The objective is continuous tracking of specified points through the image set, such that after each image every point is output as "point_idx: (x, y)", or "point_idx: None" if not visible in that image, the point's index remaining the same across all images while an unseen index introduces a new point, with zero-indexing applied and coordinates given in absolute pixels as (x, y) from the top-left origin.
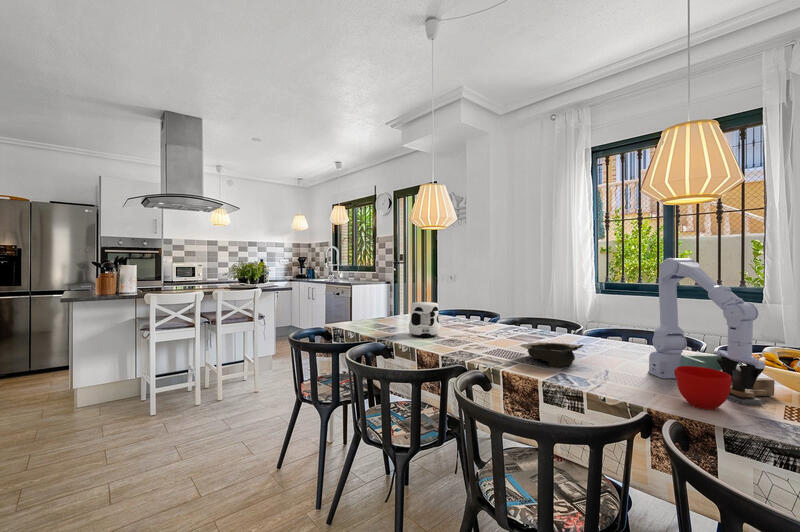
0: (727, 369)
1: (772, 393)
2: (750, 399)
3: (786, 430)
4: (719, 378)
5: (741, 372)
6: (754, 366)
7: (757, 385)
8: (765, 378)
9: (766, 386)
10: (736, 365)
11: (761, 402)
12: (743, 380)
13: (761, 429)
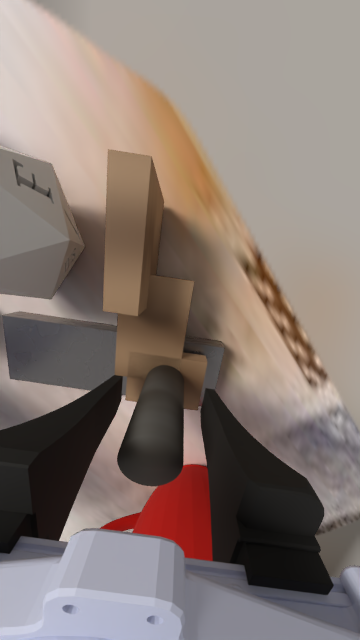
0: (87, 453)
1: (161, 205)
2: (212, 379)
3: (355, 449)
4: (198, 557)
5: (180, 471)
6: (312, 601)
7: (147, 276)
8: (112, 181)
9: (153, 228)
10: (70, 431)
11: (222, 344)
12: (207, 451)
13: (330, 487)
